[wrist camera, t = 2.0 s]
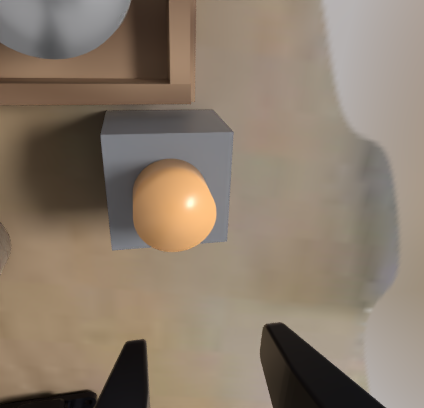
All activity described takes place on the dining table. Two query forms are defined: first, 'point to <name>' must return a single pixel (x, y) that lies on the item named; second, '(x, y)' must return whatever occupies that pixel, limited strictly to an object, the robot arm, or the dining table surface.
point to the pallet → (114, 64)
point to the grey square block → (158, 150)
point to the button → (172, 206)
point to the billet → (4, 247)
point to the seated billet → (59, 25)
